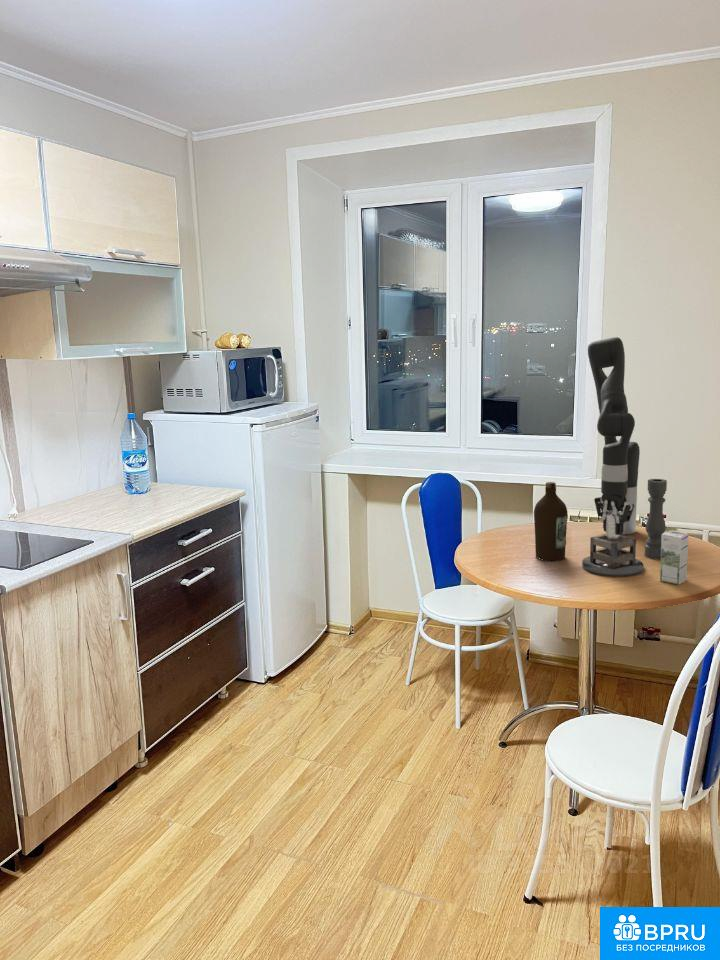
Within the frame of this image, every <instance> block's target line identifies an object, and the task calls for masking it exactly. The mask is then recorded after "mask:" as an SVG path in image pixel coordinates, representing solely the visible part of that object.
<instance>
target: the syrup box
mask: <svg viewBox="0 0 720 960" xmlns="http://www.w3.org/2000/svg"><path fill="white" fill-rule="evenodd" d="M688 550H689V532H683V531H677V530H672V529H671V530H665V532H664V533H663V534H662V537H661V559H660V566H659V567H660V569H659V570H660V572H659V573H660V574H659V581H660V582H664V583H669V584H673V585H678V586H679V585H681V584H683V583H685V582H686V581H687V579H688V577H687V576H688V574H687V573H688V554H689V553H688V552H689V551H688ZM685 580H686V581H685ZM682 582H683V583H682Z"/></svg>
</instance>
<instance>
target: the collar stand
mask: <svg viewBox="0 0 720 960" xmlns="http://www.w3.org/2000/svg"><path fill="white" fill-rule="evenodd" d="M589 541H590V547H589V555H590V556H586V557H584V558H583V559H582V562H581V567H582V569H583V570H584V571H586V572H588V573H590V574H593V575H598V576H603V577H611V578H612V577H613V578H627V577H633V576H638V575H640V574H641V573H643V572H644V562H642V561H641V560H639V559H637V558H636V555H637V554H636V553H637V552H636V549H637V539H636V538H634V537H630V536H626V535H624V534H621V535H620V541H619V542H615V543H614V542H610V541H607V540H606V533H604V534H599V535H596V536H595V535H594V536H591V537H590V540H589ZM597 547H600V548H598V549H597ZM606 548H607V549H611V556H609V555H606ZM626 548H629V550H626ZM617 550H619V556H617Z"/></svg>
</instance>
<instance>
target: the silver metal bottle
mask: <svg viewBox="0 0 720 960" xmlns="http://www.w3.org/2000/svg"><path fill="white" fill-rule="evenodd" d="M616 523H617V522H616V517H615V516H614V513H608V514H606V532H605V534H606V540H607V541H610V542H614V543H615V542H619V541H620V535H616ZM606 555H609V556H611V549H607V548H606ZM617 556H619V550H617Z"/></svg>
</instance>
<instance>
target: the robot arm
mask: <svg viewBox="0 0 720 960" xmlns="http://www.w3.org/2000/svg"><path fill="white" fill-rule="evenodd" d="M587 356H588V361H589V365H590V369H591V373H592V377H593V381H594V385H595V391H596V398H597V403H598V404H597V406H598V410H599V416H598V420H597V423H596V427H597V428H596V429H597V432H598V433H599V434H600V435H601V436H602V437H604V438H603V439H604V445H603V448H602V467H601V477H600V478H601V479H600V480H601V481H600V482H601V483H600V484H601V485H600V486H601V487H600V488H601V489H600V492H601V493H602V495H601V496H600V497H595V498H594V499H593V501H594V504H595V510H596V513H597V516H598V517H600V518H601V520H602V521H603V522H602V528H603V531H604V532H605V533H606V514H608V513H614V516H615V517H616V522H617V523H616V535H632V534H636V531H637V505H638V504H637V503H638V501H637V500H638V479H639V466H640V465H639V463H640V453H641V452H640V446H639V444H638V442H636V441H631V437H632V435H633V432H634V430H635V425H636V422H635V421H636V420H635V418H634V416H633V414H631V413H630V412H629V407H628V402H627V396H626V394H625V385H624V384H625V370H626V369H625V368H626V367H625V366H626V365H625V364H626V362H625V359H626V354H625V348H624V343H623V341H622V339H621V338H620V337H618V336H617V337H610V338H608V337H607V338H603V339H599V340H594V341H591V342H589V343H588V345H587ZM610 367H611V368H612V367H613V368H612V370H611V371H610V373H608V375H606V373H605V372H604V369H607V368H610ZM617 437H620V438H619V440H617Z"/></svg>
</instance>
